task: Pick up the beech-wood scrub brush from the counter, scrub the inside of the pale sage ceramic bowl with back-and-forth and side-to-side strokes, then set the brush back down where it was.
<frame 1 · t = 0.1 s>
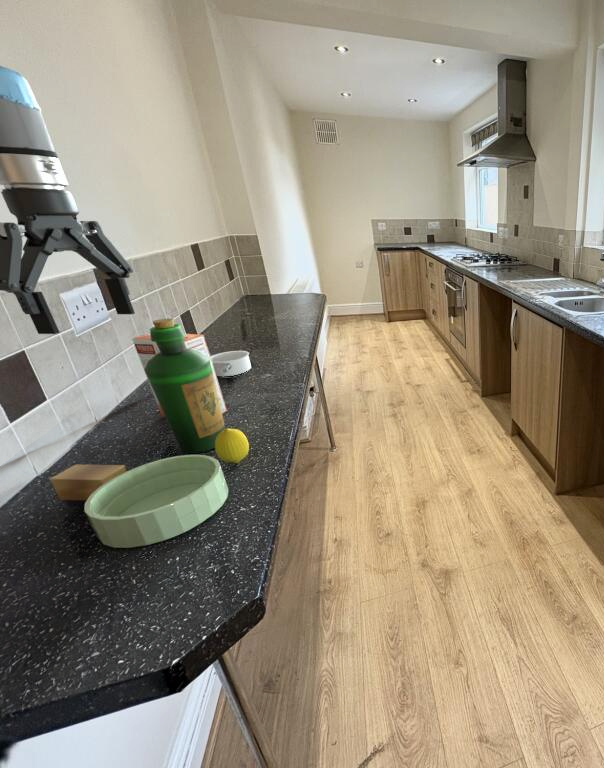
hand: (91, 323, 71), 30 cm above the countertop, tool pointing down, fingers open, 13 cm apart
saucepan: (232, 377, 128), on the countertop
scrub brush: (101, 499, 73), on the countertop
bowl: (169, 512, 70), on the countertop
lemon: (237, 463, 84), on the countertop
bottle: (205, 445, 91), on the countertop
cracker box: (195, 415, 104), on the countertop
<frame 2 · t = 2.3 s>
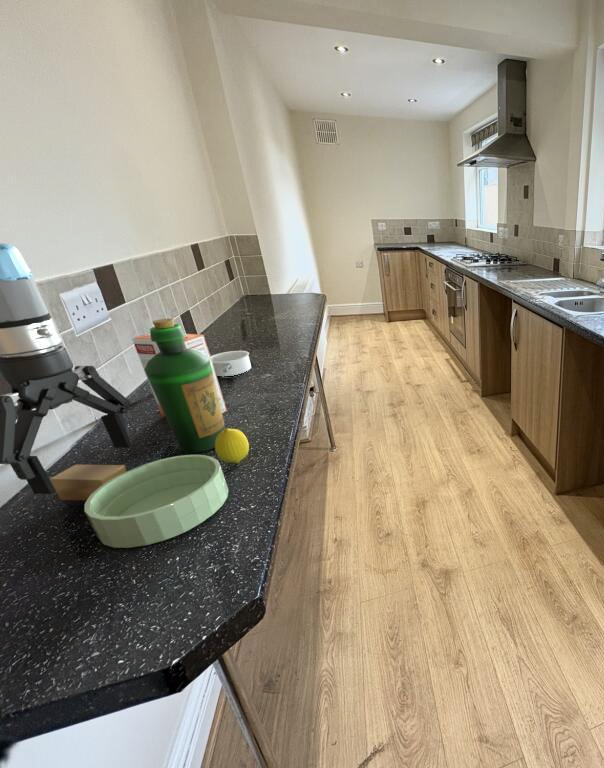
hand: (88, 467, 71), 7 cm above the countertop, tool pointing down, fingers open, 13 cm apart
nothing on the countertop moved.
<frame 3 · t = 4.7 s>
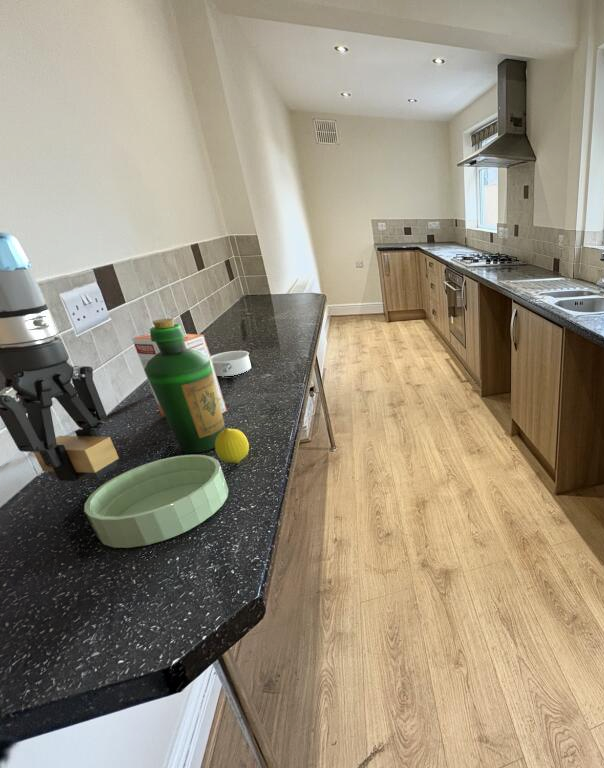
hand: (84, 470, 71), 6 cm above the countertop, tool pointing down, fingers closed on scrub brush, 4 cm apart
scrub brush: (85, 472, 71), point 6 cm above the countertop, touching gripper
everything else where it was.
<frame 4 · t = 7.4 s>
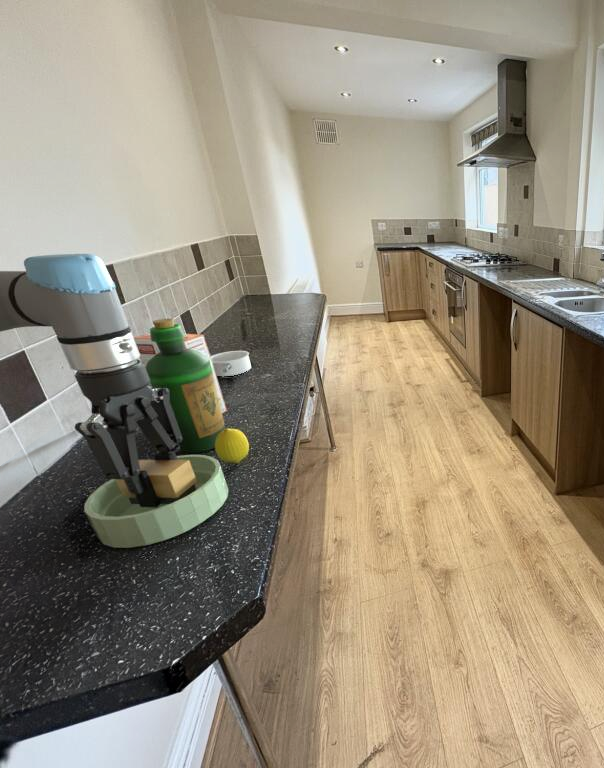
hand: (163, 495, 69), 4 cm above the countertop, tool pointing down, fingers closed on scrub brush, 4 cm apart
scrub brush: (164, 496, 69), point 3 cm above the countertop, touching gripper
everything else where it was.
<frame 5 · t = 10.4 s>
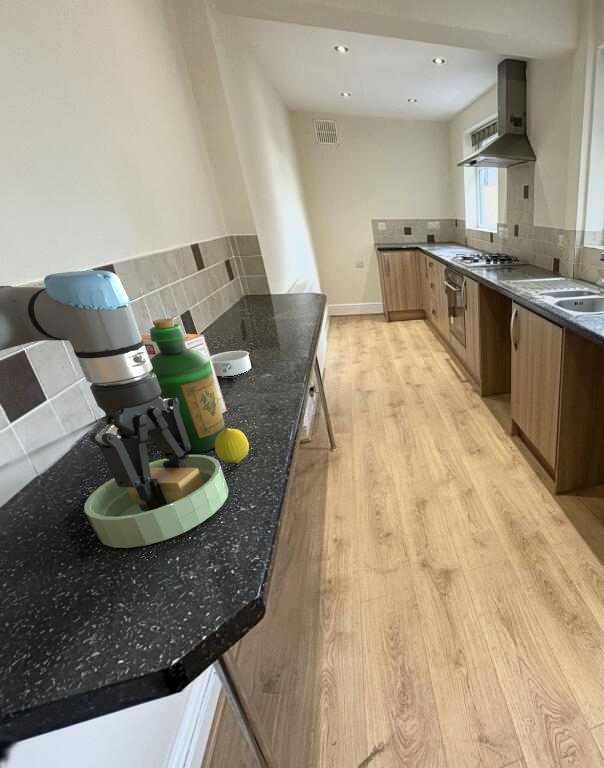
hand: (172, 502, 71), 1 cm above the countertop, tool pointing down, fingers closed on scrub brush, 4 cm apart
scrub brush: (173, 503, 71), point 1 cm above the countertop, touching gripper
everything else where it was.
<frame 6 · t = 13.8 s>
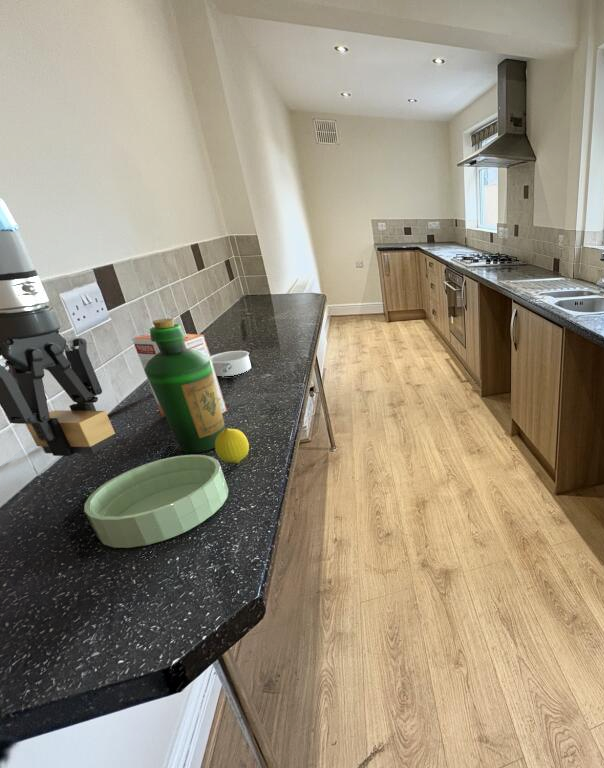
hand: (79, 446, 69), 11 cm above the countertop, tool pointing down, fingers closed on scrub brush, 4 cm apart
scrub brush: (81, 447, 69), point 11 cm above the countertop, touching gripper
everything else where it was.
when the fingers open (0 cm above the countertop, at t = 16.3 s): scrub brush stays where it is, on the countertop.
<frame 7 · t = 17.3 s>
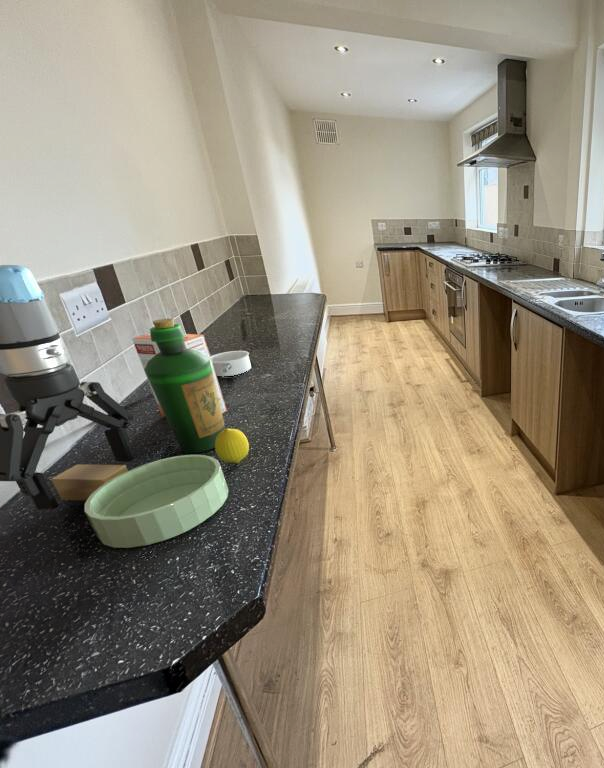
hand: (90, 482, 72), 4 cm above the countertop, tool pointing down, fingers open, 13 cm apart
scrub brush: (102, 499, 73), on the countertop
everything else where it was.
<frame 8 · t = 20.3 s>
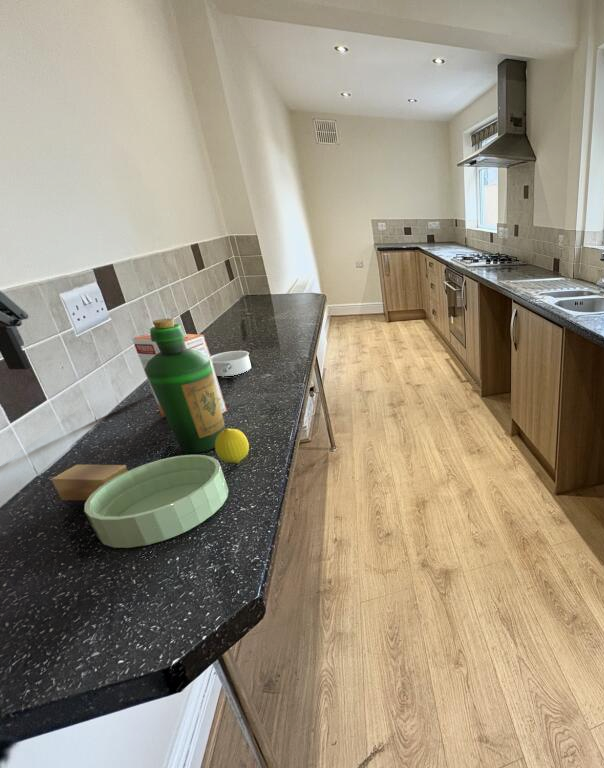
nothing on the countertop moved.
at the end: scrub brush inside the target area (0.2 cm from its centre), on the countertop; scrub brush tilted 0°; the gripper is holding nothing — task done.
